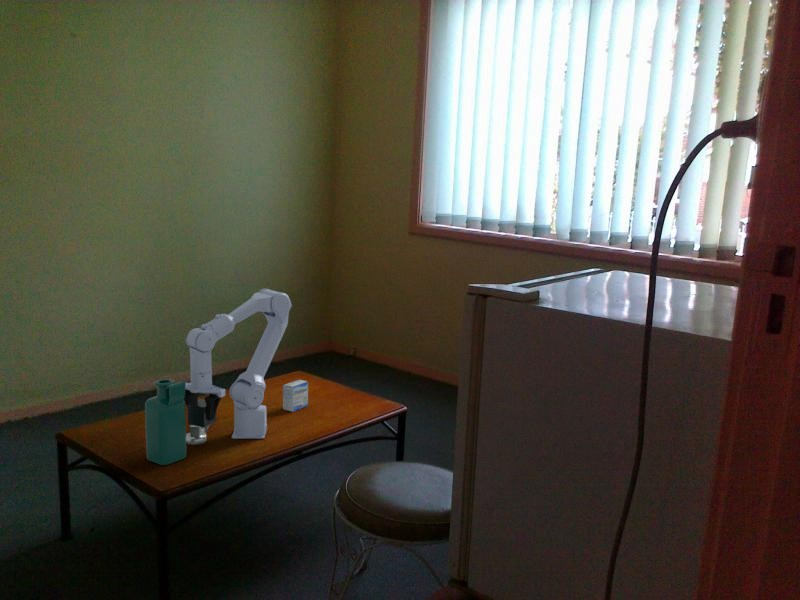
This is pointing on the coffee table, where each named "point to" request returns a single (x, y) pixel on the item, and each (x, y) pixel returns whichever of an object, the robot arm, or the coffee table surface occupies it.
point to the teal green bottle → (166, 423)
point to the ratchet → (196, 435)
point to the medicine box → (295, 395)
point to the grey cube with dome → (198, 414)
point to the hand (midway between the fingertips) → (202, 417)
